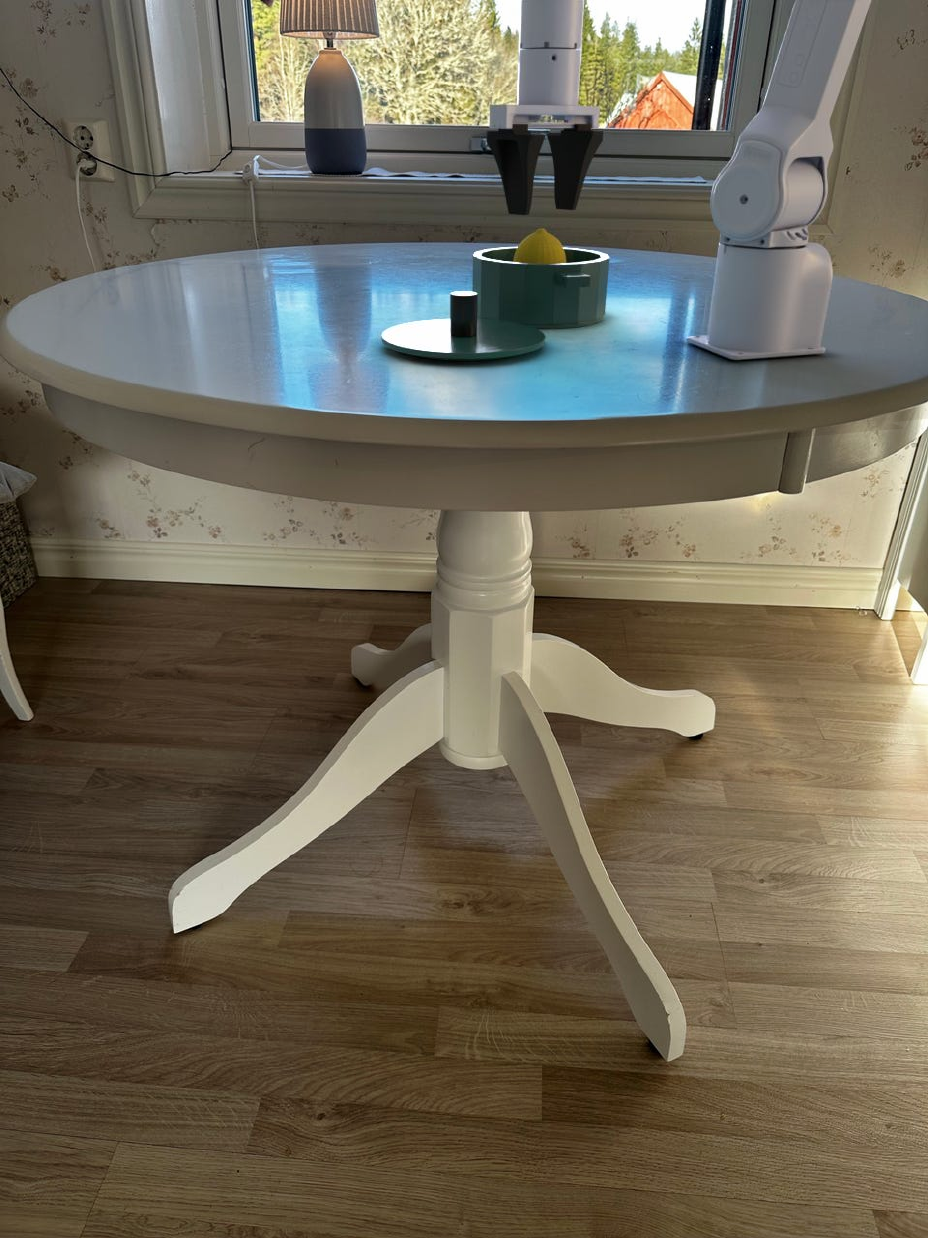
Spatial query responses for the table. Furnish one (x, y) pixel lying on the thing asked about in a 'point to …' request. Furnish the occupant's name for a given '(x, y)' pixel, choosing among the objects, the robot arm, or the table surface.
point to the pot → (541, 288)
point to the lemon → (540, 249)
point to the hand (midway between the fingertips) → (542, 211)
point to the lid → (463, 335)
